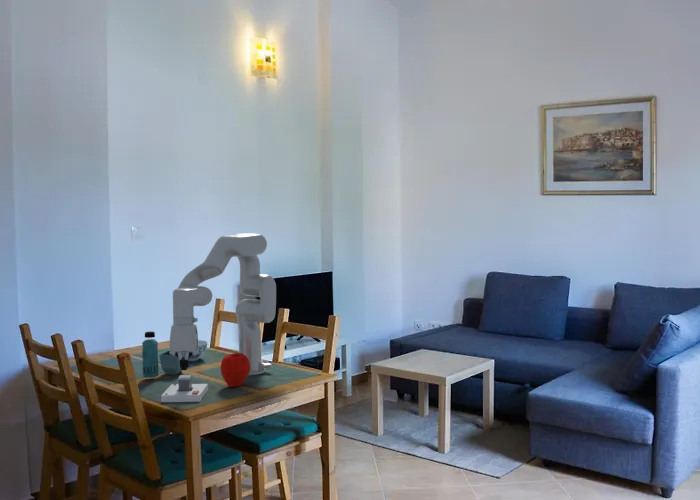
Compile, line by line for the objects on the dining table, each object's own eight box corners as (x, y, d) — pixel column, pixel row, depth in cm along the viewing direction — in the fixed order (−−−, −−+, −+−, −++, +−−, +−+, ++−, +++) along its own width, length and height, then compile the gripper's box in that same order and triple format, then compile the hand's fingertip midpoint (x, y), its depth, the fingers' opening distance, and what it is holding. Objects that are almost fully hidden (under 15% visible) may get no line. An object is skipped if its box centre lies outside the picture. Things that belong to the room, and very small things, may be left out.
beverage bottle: (152, 376, 291) (151, 329, 290) (162, 379, 287) (161, 331, 286) (139, 379, 286) (138, 332, 285) (148, 382, 282) (147, 333, 281)
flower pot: (178, 376, 292) (178, 355, 291) (159, 375, 293) (158, 354, 293) (187, 371, 300) (187, 351, 300) (168, 370, 302) (168, 350, 301)
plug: (192, 393, 263) (191, 374, 263) (189, 396, 259) (189, 377, 258) (181, 393, 263) (180, 375, 263) (178, 396, 259) (177, 377, 258)
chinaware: (175, 356, 330) (175, 340, 329) (208, 355, 332) (207, 339, 332) (174, 363, 315) (173, 347, 314) (207, 362, 318) (207, 345, 317)
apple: (245, 390, 267) (244, 356, 267) (216, 389, 269) (215, 355, 269) (254, 383, 279) (253, 350, 278) (226, 382, 281) (225, 349, 280)
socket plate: (207, 390, 269) (207, 382, 269) (199, 401, 253) (199, 393, 253) (171, 390, 269) (171, 382, 269) (161, 402, 253) (161, 394, 253)
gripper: (205, 319, 263) (206, 367, 264) (166, 319, 263) (166, 367, 264) (201, 322, 255) (202, 371, 257) (160, 323, 255) (161, 372, 256)
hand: (184, 369), depth 260 cm, fingers closed
